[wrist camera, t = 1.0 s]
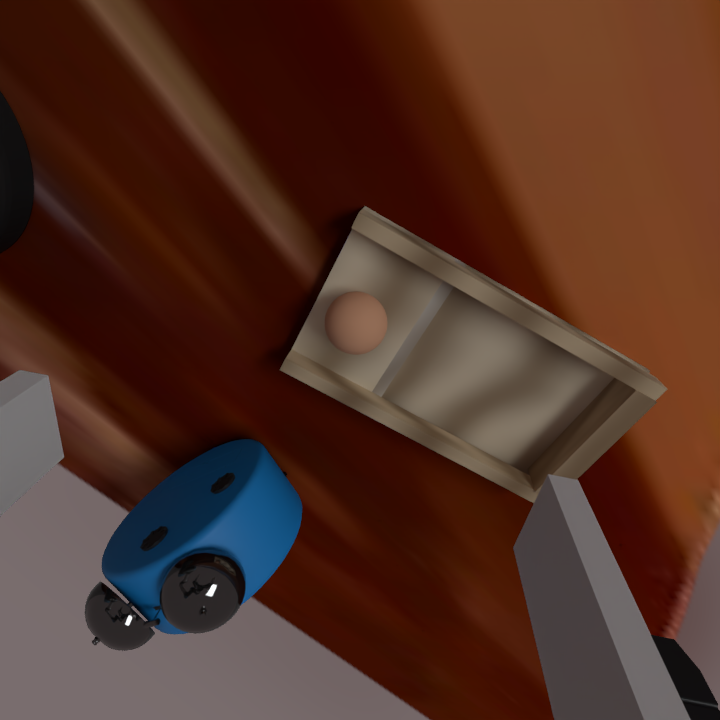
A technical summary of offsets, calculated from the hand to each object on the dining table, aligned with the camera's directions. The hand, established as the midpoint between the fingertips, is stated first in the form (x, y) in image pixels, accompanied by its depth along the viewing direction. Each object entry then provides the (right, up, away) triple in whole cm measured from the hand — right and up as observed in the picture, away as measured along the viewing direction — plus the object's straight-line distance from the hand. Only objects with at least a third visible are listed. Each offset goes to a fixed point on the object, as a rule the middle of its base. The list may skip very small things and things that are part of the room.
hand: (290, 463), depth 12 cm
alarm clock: (-9, -6, +27) cm, 29 cm away
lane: (+9, +3, +20) cm, 22 cm away
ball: (+2, +5, +16) cm, 17 cm away
